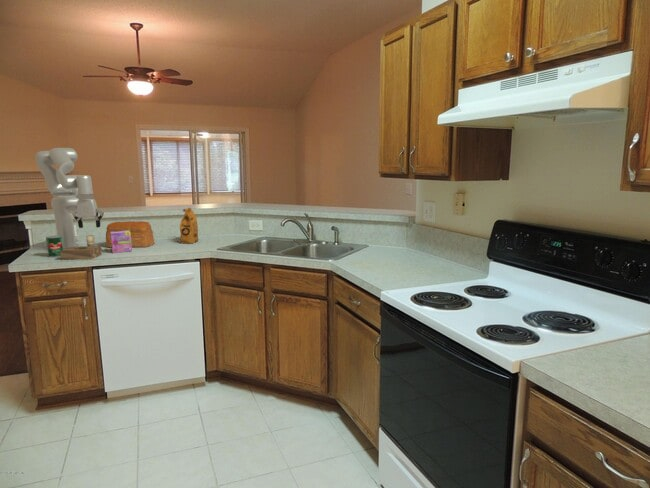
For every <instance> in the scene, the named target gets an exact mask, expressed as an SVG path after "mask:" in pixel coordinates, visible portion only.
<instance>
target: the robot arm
mask: <svg viewBox="0 0 650 488" xmlns="http://www.w3.org/2000/svg"><path fill="white" fill-rule="evenodd" d="M34 157H35V163H36V166H37V169H39V172H40V173H41V174H42V176H43V178H44V180H45V185H46V186H47V189H48V191H49V193H50V194H51V195H52V196H54V197H53V198H52V199H51V201H50V204H51V209H52V211H53V216H54V224H55V232H56V235H61V236H62V240H63V248H64V249H67V248H69V247H74V246H80V244H79V243H77V242H78V241H79V239H78V238H76V233H75V224H74V220H76V222H77V226H78V228H79V229H82V228H84V224H83V219H85V218H86V219H87V218H88V219H89V218H94V219H95V226H96V227H95V228H100V227H101V220H102V218H103V217H104V211H102V210H100V209H98V204H97V201H96V199H95V198H94V191H93V190H94V189H93V183H92V177H91V175H88V174H87V175H83V174H72V175H71V174H69V173H71V172H73V170H74V168H75V162H76V161H78V153H77V151H76V150H75V149H74V148H73V147H72V148H71V147H54V148H51V149H50V150H40V151H38V152H37V153H36V154H35V156H34ZM54 166H56V167H57V169H56V168H55V167H54ZM67 174H69V175H67ZM72 211H73V213H72V214H70V213H69V212H72ZM73 218H74V219H73Z"/></svg>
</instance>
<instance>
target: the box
mask: <svg viewBox="0 0 650 488" xmlns="http://www.w3.org/2000/svg"><path fill="white" fill-rule="evenodd" d="M110 234H111V243H112V247H111V251H112V254H119V253H126V252H127V253H128V252H133V247H132V245H131V235H130V231H129V230H128V231H117V232H110Z"/></svg>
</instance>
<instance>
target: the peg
mask: <svg viewBox="0 0 650 488" xmlns="http://www.w3.org/2000/svg"><path fill="white" fill-rule="evenodd" d="M86 246H96V241H95V235H91V234H90V235H86Z"/></svg>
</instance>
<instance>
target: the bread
mask: <svg viewBox="0 0 650 488" xmlns="http://www.w3.org/2000/svg"><path fill="white" fill-rule="evenodd" d="M128 230H129V231H130V235H131V245H132V248H146V247H151V246H153V245H155V239H154V232H153V229H152V225H151V224H150V222H148V221H143V220H141V221H131V220H129V221H127V220H126V221H114V222H111V223H109V224H107V226H106V231H105V245H106V248H112V243H111V234H110V232H117V231H128Z"/></svg>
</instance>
